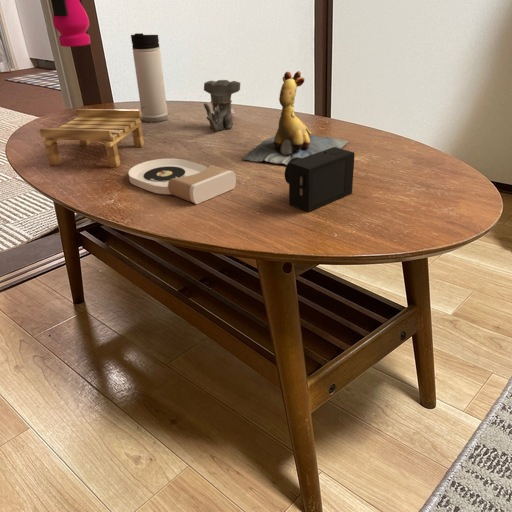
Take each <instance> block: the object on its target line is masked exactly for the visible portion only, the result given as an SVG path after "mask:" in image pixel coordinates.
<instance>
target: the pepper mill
mask: <svg viewBox="0 0 512 512" xmlns="http://www.w3.org/2000/svg"><path fill="white" fill-rule="evenodd" d="M65 1H66V6H67V11H68V16H54V13H53V12H52V23H53V27H54V29H55V30H56V31H57V32H59V33H60V35H59V36H58V40H59V41H58V42H59V45H60V47H65V48H66V47H67V48H68V47H69V48H72V47H83V46H88V45H90V44H91V37H90V35H89V34H88V33H87V30H88V29H89V27H90V19H89V16H88V14H87V11H86V10H85V8H84V5H83V6H82V5H81V3H80V1H79V0H65Z"/></svg>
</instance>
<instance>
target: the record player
mask: <svg viewBox="0 0 512 512" xmlns="http://www.w3.org/2000/svg"><path fill="white" fill-rule="evenodd" d="M128 180H129V182H130V184H131V185H133V186H135V187H138V188H141V189H143V190H146V191H149V192H151V193H154V194H158V195H172V196H174V197H177V198H179V199H182V200H185V201H187V202H190V203H193V204H195V205H199V204H202V203H203V202H206V201H208V200H210V199H213V198H216V197H217V196H220V195H222V194H224V193H227V192H229V191H233V190H234V189H235V188H236V185H237V176H236V173H235V171H233V170H229V169H226V168H223V167H219V166H216V165H213V164H209V165H208V167H207V166H205V165H203V164H200V163H197V162H193V161H190V160H186V159H183V158H158V159H152V160H147V161H144V162H140V163H138V164H136V165H134V166H132V167H131V168H130V169H129V170H128Z"/></svg>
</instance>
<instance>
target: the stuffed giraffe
mask: <svg viewBox="0 0 512 512" xmlns="http://www.w3.org/2000/svg"><path fill="white" fill-rule="evenodd" d="M301 75H302V74H301V71H300V70H298V71H296V72H295V73H294V75H293V76H292V73H291V72H290V71H285V72H284V74H283V76H282V82H283V83H282V84H281V88H280V91H279V97H278V101H279V104H280V106H281V113H280V117H279V120H278V127H277V130H276V132H275V134H274V135H273V136H271V137H269V138H267V139H265V140H263V141H262V142H260V143H259V144H258V145H256V146H255V147H254V148H252V149H251V150H250V151H249V152H248V153H247V154H246V155H245V156H243V157H242V158H241V160H245V161H250V162H259V163H261V162H263V161H265V162H267V163H272V164H283V165H286V166H287V164H288V163H289V161H290V160H291V159H293V158H295V157H299V158H304V157H307V156H309V155H312V154H315V153H318V152H321V151H324V150H327V149H330V148H332V147H336V148H340V149H343V147H345V146H346V145H347V144H348V143H349V142H350V141H349V140H342V139H340V138H335V137H332V136H317V135H312V132H311V131H310V129H309V128H308V127H307V125H306V124H305V123H304V122H302V120H301V119H299V117H297V116H296V115H295V112H294V111H295V101H296V99H295V98H296V95H297V88H298V87H301V86H302V85H303V84H304V83H305V77H303V76H301Z"/></svg>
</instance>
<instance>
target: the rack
mask: <svg viewBox="0 0 512 512" xmlns="http://www.w3.org/2000/svg"><path fill="white" fill-rule="evenodd" d="M76 114H77V117H75V118H73V119H72V120H70V121H67V122H66V124H62V125H61V126H59V127H58V128H57V127H41V128H39V133H40V137H41V138H44V139H45V140H43V145H44V146H45V150H46V154H47V158H48V162H49V166H59V165H61V164H62V159H61V154H60V150H59V146H58V142H59V141H79V145H80V146H82V147H83V146H85V147H86V146H89V145H90V144H91V141H92V142H104V144H103V145H104V147H105V150H106V157H107V162H108V167H109V168H115V169H116V168H118V167H120V166H121V160H120V155H119V149H118V144H117V143H119V142H120V141H121V140H123V139H124V138H125V137H127V136H128V135H129V134H132V139H133V140H132V141H133V147H134V148H143V146H144V145H145V142H144V134H143V127H142V121H141V118H142V112H141V109H116V108H115V109H114V108H113V109H111V108H109V109H108V108H77V109H76Z"/></svg>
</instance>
